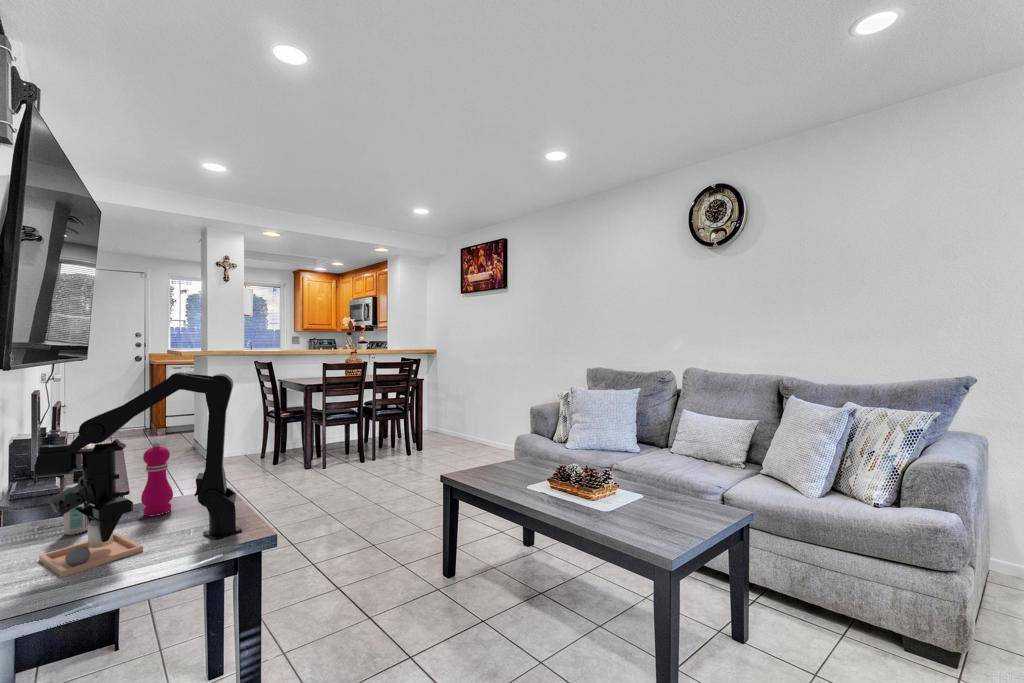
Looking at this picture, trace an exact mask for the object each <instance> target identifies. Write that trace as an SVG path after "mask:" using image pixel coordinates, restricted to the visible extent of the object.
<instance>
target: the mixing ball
mask: <svg viewBox="0 0 1024 683" xmlns="http://www.w3.org/2000/svg"><path fill="white" fill-rule="evenodd" d="M89 558H90V550H89V549H88V548H86V547H83V546H79V547H75V548H73V549H71V550H70V551H69V552H68V553H67V555H66V558H65V561H66V563H67V564H68V565H69V566H72V567H74V566H77V565H81V564H84V563H86V562H87V561H88V559H89Z"/></svg>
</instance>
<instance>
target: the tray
mask: <svg viewBox="0 0 1024 683" xmlns="http://www.w3.org/2000/svg"><path fill="white" fill-rule="evenodd" d="M79 546H83V547H86V548H88V549H89V550H90V558H89V559H88V561H87V562H86V563H84V564H81V565H77V566H74V567H72V566H69V565H68V564H67V563H66V561H65V558H66V555H67V553H68V552H69V551H70V550H71V549H73V548H75V547H79ZM141 552H144V546H143V545H142V544H140V543H138V542H136V541H134V540H132V539H131V538H128V537H126V536H124V535H122V534H120V533H118V532H116V533H115V532H114V533H113V542H112V543H111V544H109V545H106V546H103V547H99V548H89V547H88V540H87V541H84V542H80V543H77V544H73V545H70V546H67V547H64V548H63V547H62V548H60V549H57V550H52V551H49V552H45V553H43V554H39V556H38V557H39V558H38V559H39V562H41V563H43V564H44V565H45V566H46V567H48V568H49V569H51V570H52V571H53V572H55V573H56V574H57V575H58V576H60V577H61V578H64V577H68V576H72V575H74V574H77V573H80V572H83V571H85V570H89V569H92V568H95V567H98V566H102V565H105V564H108V563H111V562H113V561H116V560H120V559H123V558H127V557H129V556H132V555H136V554H138V553H141Z"/></svg>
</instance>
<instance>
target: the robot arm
mask: <svg viewBox="0 0 1024 683" xmlns="http://www.w3.org/2000/svg"><path fill="white" fill-rule="evenodd" d="M233 388H234V381H233V379H232V378H231V376H230V375H228V374H226V373H216V374H214V375H207V374H195V373H186V372H183V371H178V372H175V373H173V374H171V375H169V377H168V378H166V379H164V380H163V381H161V382H159V383H158V384H156V385H154V386H153V387H151V388H150V389H147V390H146V391H144V392H142V393H141V394H139V395H138V396H136V397H134V398H132V399H131V400H129V401H127V402H126V403H124V404H122V405H120V406H117V407H115V408H111V409H110V410H107V411H105V412H102V413H100V414H97V415H94V416H93V417H91V418H89V419H86V420H85V421H83V422H82V423H81V424H80V425H79V428H78V435H77V436H76V437H75V439H73V441H71V442H70V444H69V443H68V444H67V443H66V444H54V445H53V444H46V445H45V444H44V445H42V446H40V447H39V448H38V455H37V457H36V458H35V460H36V461H35V464H34V473H35V476H36V477H37V478H47V477H58V476H68V475H73V474H74V473H75V472H76V470H79V469H80V468H81V466H82V476H79V478H78V479H77V483H78V485H76V486H74V487H72V488H69V489H67V490H65V491H63V490H62V491H61V492H59V493H57V494H55V495H52V496H51V497H49V498H48V499H47V501H48V504H49V506H50V507H51V509H52V511H53V513H56V514H58V515H59V516H64V514H65V513H67V512H69V511H70V510H71V509H73V508H75V507H77V506H79V507H77V508H75V510H77V511H79V512H81V513H82V514H84V515H85V517H86V519H87V521H88V524H90V521H91V520H92V519H95V520H96V521H97V523H98V528H99V532H100V537H101V540H102V542H106V541H108V540H109V538H110V537H111V535H112V533H113V534H114V530H115V529H116V526H117V525H118V523H119V521H120V519H121V518H122V516H123V514H128V513H131V512H133V511H134V502H133V501H132V500H130V499H128V498H125V497H123V496H120V491H118V490H117V485H116V484H117V480H119V479H120V474H119V473H117V471H116V470H117V469H116V466H117V465H116V452H119V451H123V450H124V449H125V448H126V447H127V444H125V443H123V442H122V441H120V440H119V439H118V438H115V439H114V440H113V441H112V442H107V443H103V442H105V441H106V440H108V439H109V438H111V437H112V436H114V435H115V434H116V433H117V432H119V431H120V430H121V429H122V428H123V427H124V426H126V424H128V423H129V422H130V421H131V420H132V419H134V418H135V417H136V416H138V415H139V414H141V413H143V412H144V411H146V410H148V409H150V408H152V407H153V406H155V405H156V404H158V403H159V402H161V401H163V400H164V399H165V398H168V397H169V396H171V395H173V394H175V393H176V392H178V391H180V390H181V391H189V392H194V393H199V394H204V395H205V400H206V404H207V405H206V406H207V410H208V411H207V412H208V418H207V419H208V421H207V437H206V438H207V439H206V450H205V451H206V452H205V468H204V472H198V474H197V475H196V478H195V485H196V486H195V487H196V490H195V492H194V497H197V501H198V504H200V505H201V506H203V507H205V508H206V510H207V512H208V527H209V529H207V530H205V531H203V532H202V535H204V536H207V537H209V538H211V539H213V540H219V539H222V538H225V537H229V536H231V535H234V534H237V533H240V532H242V531H243V528H241V527H239V526H237V525H236V523H237V514H236V513H237V512H236V511H237V510H236V509H237V508H236V498H237V493H236V492H235V491H234V490H232V489H230V488H229V487H228V485H227V477H226V472H225V468H224V457H225V455H224V454H225V440H226V439H225V438H226V437H225V436H226V423H227V422H226V421H227V409H228V406H229V403H230V399H231V395H232V392H233ZM90 444H92V445H94V447H91V448H85V447H87V446H89V445H90Z"/></svg>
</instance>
